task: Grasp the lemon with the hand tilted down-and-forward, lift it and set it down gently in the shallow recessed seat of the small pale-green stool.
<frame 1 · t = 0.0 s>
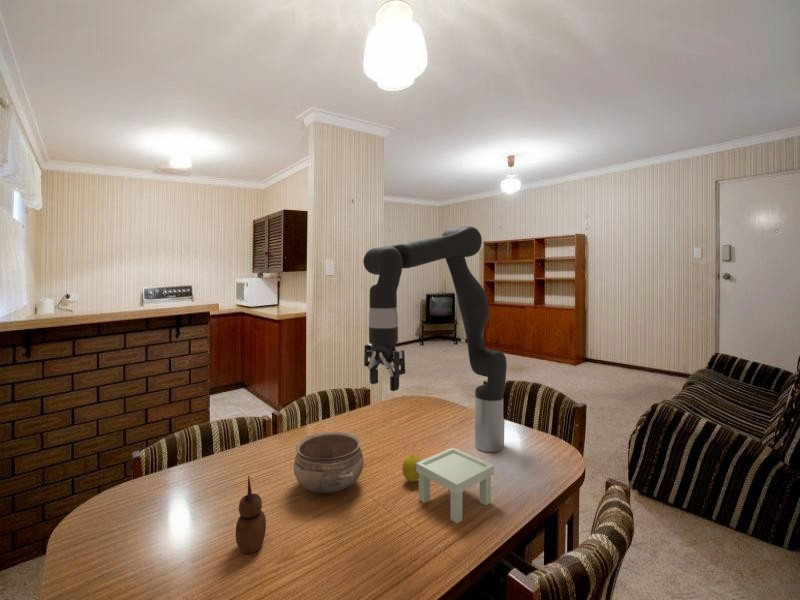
hand: (383, 386, 102), 29 cm above the table, tool pointing down, fingers open, 8 cm apart
cooking pot: (329, 488, 108), on the table
wooden figurine: (251, 548, 85), on the table
stool: (454, 501, 102), on the table
lemon: (412, 483, 111), on the table
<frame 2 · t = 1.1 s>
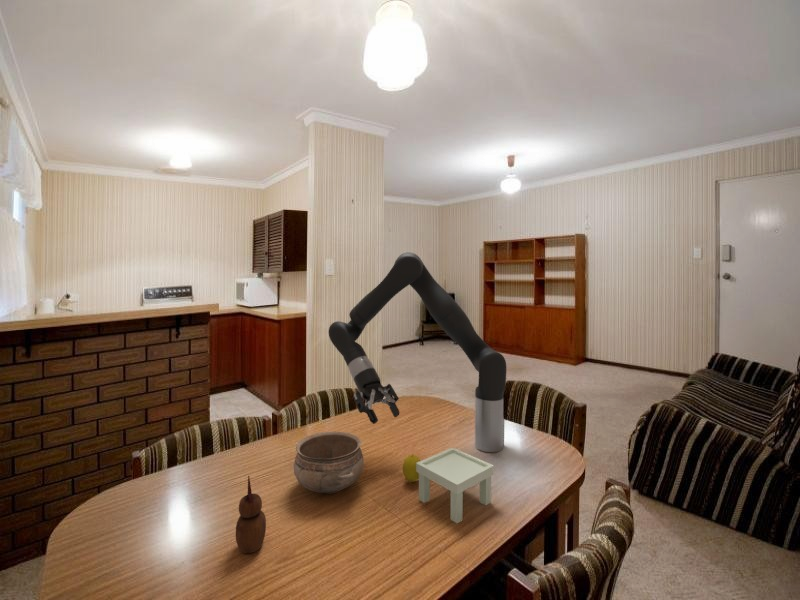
hand: (386, 419, 118), 15 cm above the table, tool tilted 45°, fingers open, 8 cm apart
nothing on the table moved.
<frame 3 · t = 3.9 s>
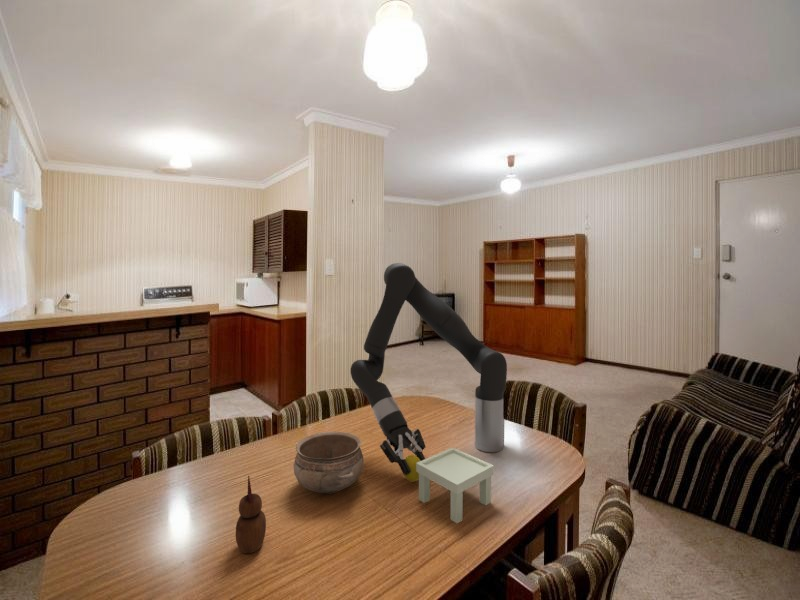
hand: (416, 469, 109), 4 cm above the table, tool tilted 45°, fingers closed on lemon, 5 cm apart
lemon: (412, 482, 111), on the table, touching gripper
everything else where it was.
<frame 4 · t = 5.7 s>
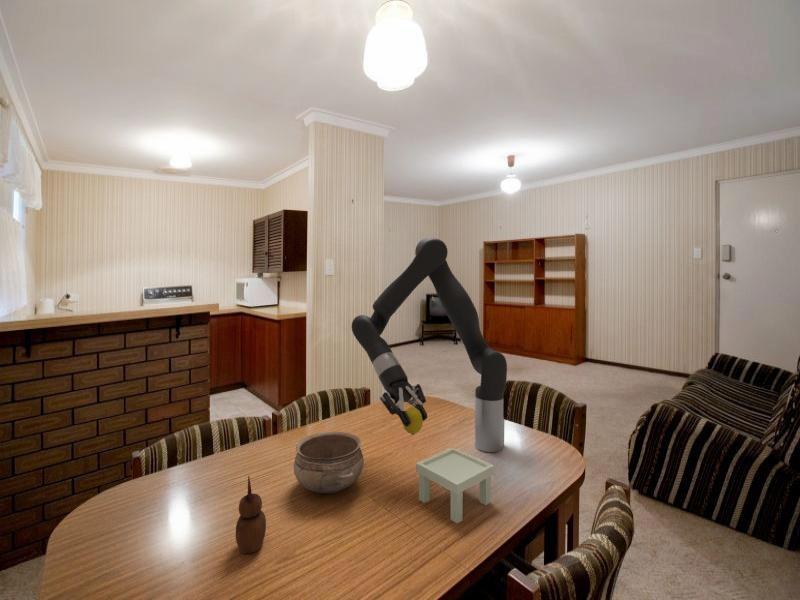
hand: (417, 421, 108), 18 cm above the table, tool tilted 45°, fingers closed on lemon, 5 cm apart
lemon: (412, 435, 110), point 13 cm above the table, touching gripper
everything else where it was.
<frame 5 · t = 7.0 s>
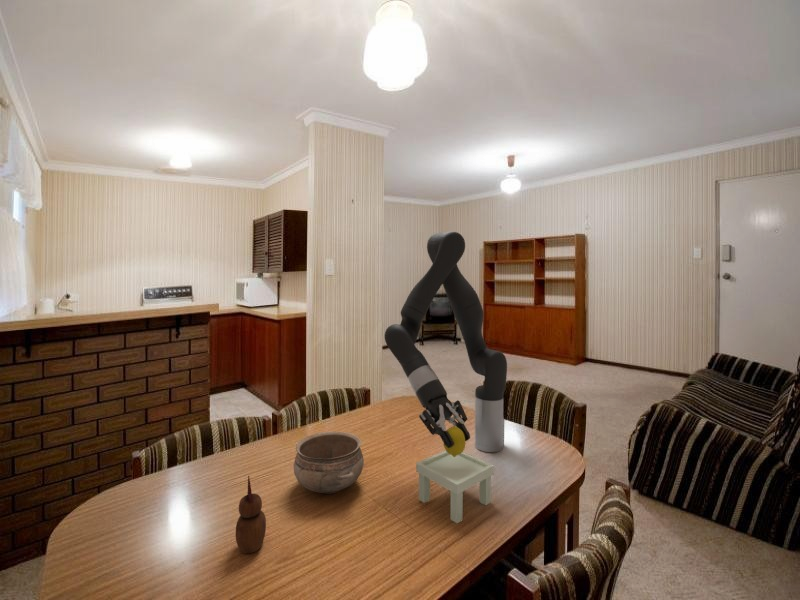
hand: (459, 442, 99), 16 cm above the table, tool tilted 45°, fingers closed on lemon, 5 cm apart
lemon: (454, 457, 101), point 12 cm above the table, touching gripper
everything else where it was.
when the fingers open (15 cm above the table, at t = 7.7 s): lemon drops 1 cm, resting on stool.
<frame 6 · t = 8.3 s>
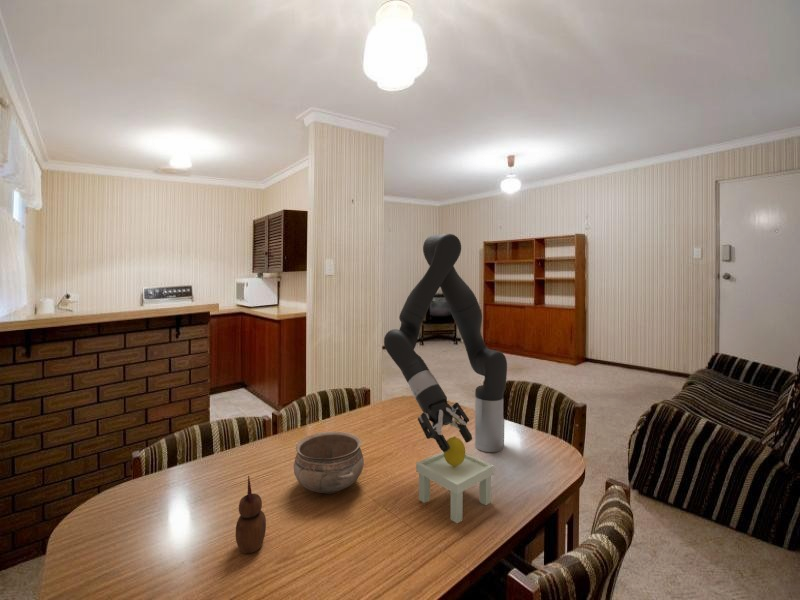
hand: (458, 445, 100), 15 cm above the table, tool tilted 45°, fingers open, 8 cm apart
lemon: (454, 467, 101), point 9 cm above the table, touching stool
everything else where it was.
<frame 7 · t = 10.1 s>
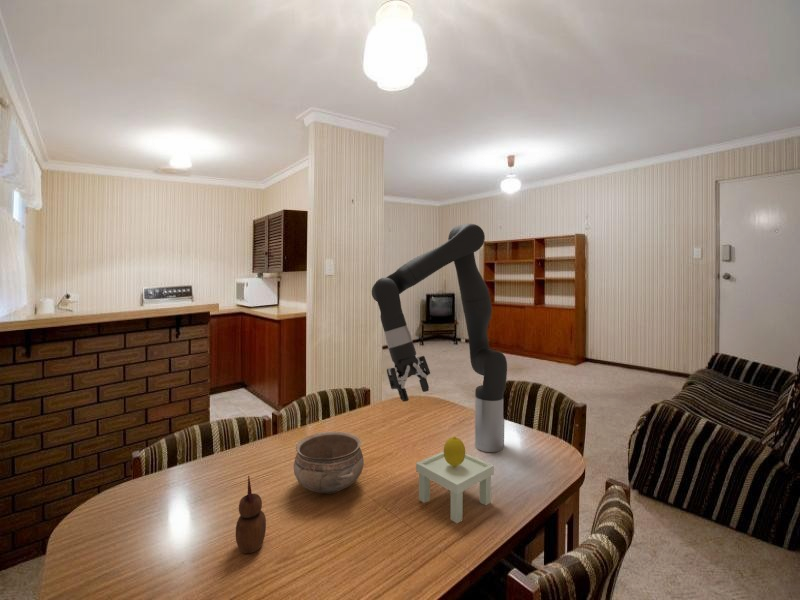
hand: (416, 396, 116), 23 cm above the table, tool tilted 20°, fingers open, 8 cm apart
nothing on the table moved.
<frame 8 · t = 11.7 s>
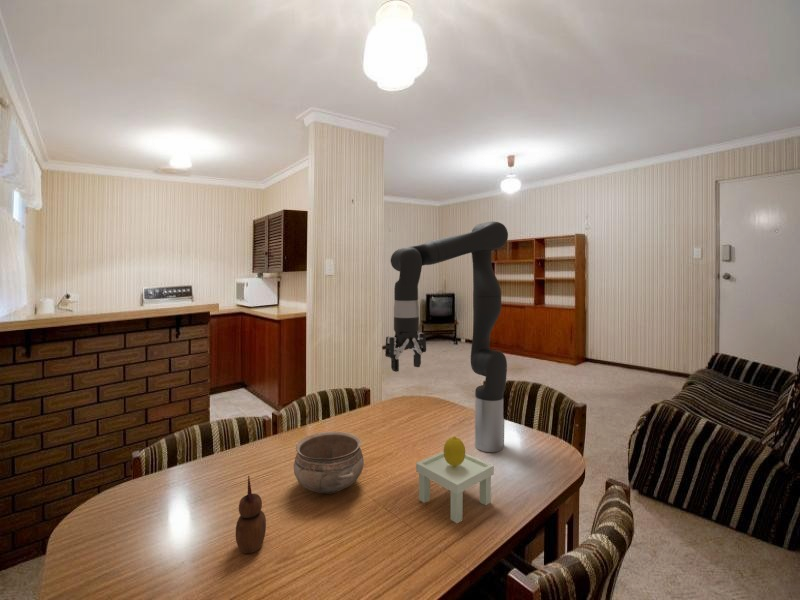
hand: (406, 369, 118), 30 cm above the table, tool pointing down, fingers open, 8 cm apart
nothing on the table moved.
at the end: lemon 0.2 cm from the stool (horizontally); lemon point 8.8 cm above the table; the gripper is holding nothing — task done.
